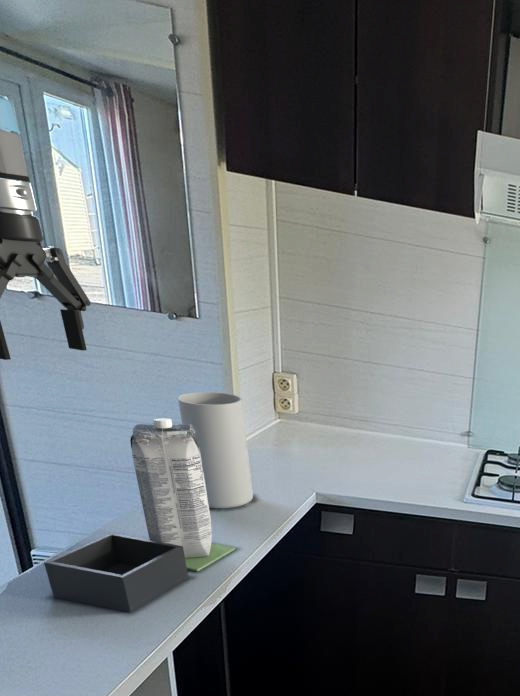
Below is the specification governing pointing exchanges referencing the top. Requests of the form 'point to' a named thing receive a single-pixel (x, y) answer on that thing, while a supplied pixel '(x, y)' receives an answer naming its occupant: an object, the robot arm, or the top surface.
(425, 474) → the top surface
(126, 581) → the box
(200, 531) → the juice carton
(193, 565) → the placemat
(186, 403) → the cylinder vase
